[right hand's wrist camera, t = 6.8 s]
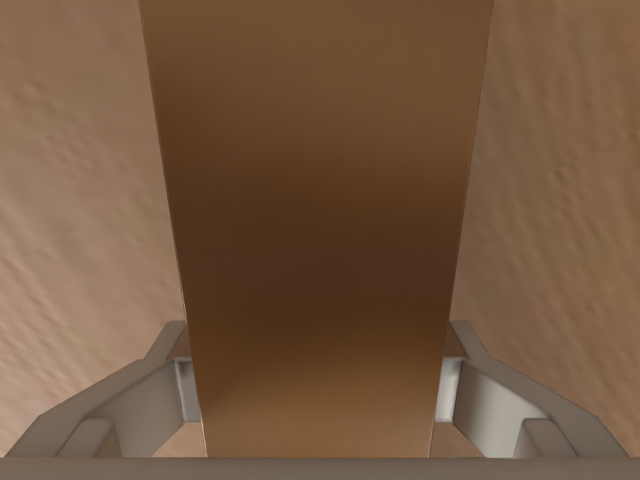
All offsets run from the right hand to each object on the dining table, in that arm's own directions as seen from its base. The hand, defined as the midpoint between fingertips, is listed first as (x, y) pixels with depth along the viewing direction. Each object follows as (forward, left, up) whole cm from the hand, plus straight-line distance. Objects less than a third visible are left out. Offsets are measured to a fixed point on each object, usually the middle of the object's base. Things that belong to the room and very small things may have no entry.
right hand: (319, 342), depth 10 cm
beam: (+19, -20, -3) cm, 28 cm away
